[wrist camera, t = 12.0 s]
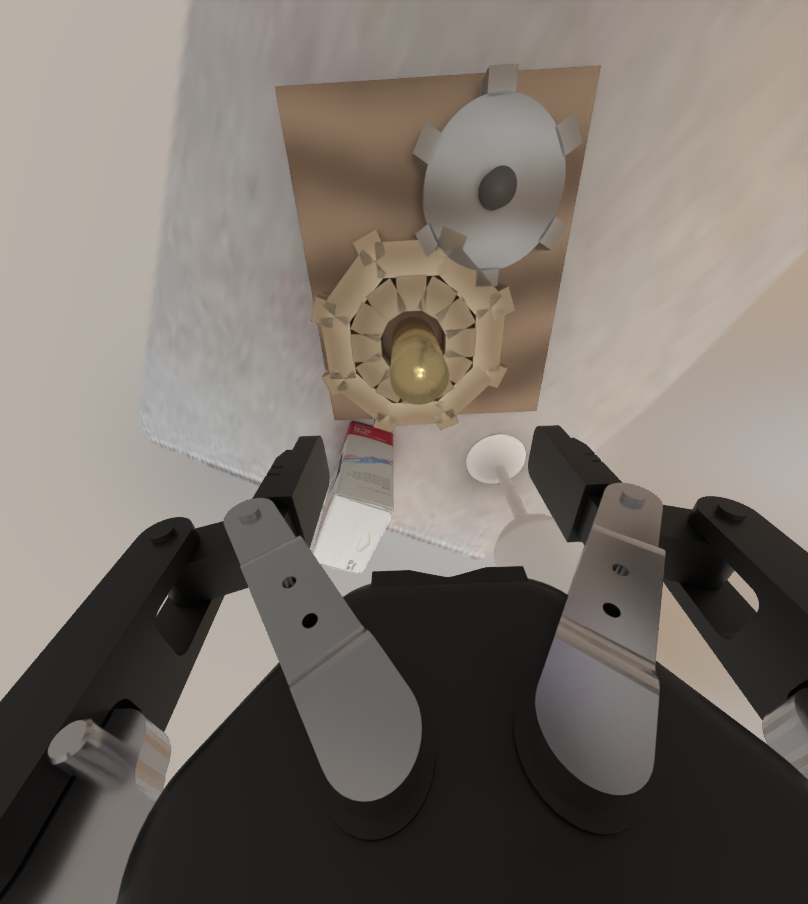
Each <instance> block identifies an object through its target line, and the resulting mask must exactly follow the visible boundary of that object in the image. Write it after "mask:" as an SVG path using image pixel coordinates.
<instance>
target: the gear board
mask: <svg viewBox="0 0 808 904" xmlns="http://www.w3.org/2000/svg"><path fill="white" fill-rule="evenodd" d="M600 68H601V66H587V67H571V68H556V69H540V70H525V71H518V64H508V65H493V66H489V68H488V70H487V72H486V73H478V74H463V75H448V76H432V77H417V78H401V79H386V80H370V81H355V82H340V83H324V84H309V85H293V86H278V87H275V89H276V95H277V101H278V106H279V112H280V117H281V123H282V128H283V134H284V140H285V145H286V151H287V156H288V162H289V167H290V173H291V179H292V184H293V190H294V195H295V201H296V207H297V212H298V218H299V223H300V229H301V234H302V240H303V246H304V251H305V257H306V262H307V268H308V273H309V279H310V285H311V290H312V296H313V301H314V308H313V313H312V319H311V321H313V322H315V323H317V324H318V329H319V335H320V340H321V346H322V352H323V357H324V363H325V368H326V372H325V373H324V375H323V377H322V379H323V381H324V382H325V384H326V385H327V387H328V389H329V391H330V396H331V402H332V407H333V413H334V418H335V420H351V419H372V418H374V426H373V427H376V428H379V429H382V430H385V431H388V432H392V431H393V428H394V425H415V424H438V426H439V429H440V430H442V429H445V428H447V427H450V426H452V425H455V424H457V423H458V420H457V417H456V415H458V414H479V413H501V412H522V411H536V410H537V405H538V399H539V394H540V389H541V383H542V378H543V372H544V367H545V362H546V356H547V351H548V346H549V340H550V335H551V330H552V324H553V319H554V314H555V308H556V303H557V298H558V292H559V287H560V282H561V276H562V271H563V266H564V260H565V255H566V250H567V244H568V239H569V234H570V228H571V223H572V218H573V212H574V207H575V201H576V196H577V191H578V185H579V180H580V175H581V169H582V164H583V159H584V153H585V148H586V143H587V137H588V132H589V127H590V121H591V116H592V111H593V105H594V100H595V95H596V89H597V84H598V79H599V73H600ZM409 317H419V318H422V319H424V320H426V321H427V322H428V323H429V324H430V325H431V327H432V329H433V331H434V334H435V336H436V339H437V341H438V344H439V346H440V349H441V351H442V354H443V356H444V358H445V361H446V363H447V366H448V370H449V381H448V384H447V387H446V389H445V391H444V392H443V393H442V394H441V396H440V397H438V398H437V399H436V400H434V401H432V402H430V403H427V404H422V405H415V404H410V403H407V402H405V401H403V400H402V399H400V398H399V397H398V396H397V395H396V393H395V392H394V390H393V389H392V386H391V383H390V367H391V355H392V343H393V334H394V331H395V328H396V327H397V325H398V324H399V323H400V322H401V321H402V320H404V319H406V318H409Z"/></svg>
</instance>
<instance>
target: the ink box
mask: <svg viewBox="0 0 808 904" xmlns="http://www.w3.org/2000/svg"><path fill="white" fill-rule="evenodd" d="M393 511H394V502H393V435H392V434H391V433H390V432H387V431H384V430H381V429H378V428H375V427H372V426H368V425H364V424H360V423H355V422H351V423H350V426H349V429H348V432H347V435H346V438H345V441H344V444H343V447H342V451H341V454H340V457H339V460H338V463H337V466H336V469H335V472H334V475H333V478H332V482H331V485H330V488H329V492H328V496H327V499H326V503H325V507H324V510H323V515H322V518H321V522H320V526H319V530H318V534H317V537H316V541H315V545H314V549H313V552H312V553H313V554H314V556H315V557H316V559H317V560H318V562H319V563H320V565H322V566H326V567H330V568H334V569H338V570H342V571H347V572H352V573H356V574H360V573H361V572H362V571H363V570H364V569H365V567H366V564H367V563H368V562H369V560H370V558H371V555H372V553H373V551H374V550H375V548H376V546H377V545H378V542H379V540H380V538H381V536H382V535H383V533H384V531H385V530H386V528H387V525H388V523H389V522H390V520H391V518H392V516H391V515H392V513H393Z"/></svg>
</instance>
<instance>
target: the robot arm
mask: <svg viewBox="0 0 808 904" xmlns="http://www.w3.org/2000/svg"><path fill="white" fill-rule="evenodd" d="M528 470H529V475H530V477H531V479H532V481H533V483H534V485H535V486H536V488H537V490H538V492H539V494H540V495H541V497H542V499H543V501H544V502H545V504H546V506H547V508H548V509H549V511H550V513H551V515H552V517H553V518H554V520H555V522H556V524H557V525H558V527H559V529H560V531H561V532H562V534H563V536H564V538H565V540H566V541H567V542H582V543H583V544H584V548H583V551H582V554H581V557H580V560H579V562H578V565H577V568H576V571H575V574H574V577H573V579H572V582H571V585H570V588H569V591H568V594H566V593H564V592H563V591H561V590H559V589H557V588H555V587H553V586H551V585H548V584H546V583H543V582H540V581H537V580H534V579H529V578H528V577H527V575H526V572H525V570H524V567H523V566H507V567H485V568H481V569H478V570H474V571H471V572H467V573H464V574H460V575H456V576H453V577H443V576H437V575H432V574H426V573H422V572H416V571H411V570H402V571H377V572H376V571H374V572H372V582H371V584H368V585H365V586H362V587H360V588H357V589H355V590H353V591H352V592H350V593H348V594H347V595H345V596H344V597H342V596H341V594H340V593H339V591H338V590H337V588H336V587H335V585H334V584H333V582H332V581H331V579H330V578H329V577H328V575H327V574H326V572H325V571H324V569H323V568H322V566H321V565H320V563H319V562H318V560H317V559H316V557H315V556H314V554H313V553H312V552H311V550H310V545H311V542H312V539H313V536H314V532H315V529H316V525H317V522H318V519H319V516H320V512H321V509H322V506H323V503H324V499H325V496H326V493H327V489H328V486H329V468H328V463H327V458H326V453H325V449H324V444H323V440H322V437H321V436H301V437H299V439H298V440H297V442H296V444H295V446H294V448H293V450H286V451H285V452H283V453H282V454H281V455H280V456H278V457H277V458H276V460H275V461H274V463H273V465H272V466H271V468H270V470H269V471H268V473H267V476H265V478H264V480H263V481H262V483H261V485H260V487H259V488H258V490H257V492H256V493H255V495H254V497H253V498H252V499H250V500H246V501H244V502H241V503H239V504H237V505H236V506H235V507H233V508H232V509H231V510H229V511H228V513H227V514H226V516H225V517H224V521H222V522H219V523H215V524H211V525H207V526H204V527H200V528H196V529H195V527H194V525H193V524H192V522H191V521H190V520H189V519H187V518H184V517H175V518H170V519H166V520H163V521H161V522H158V523H156V524H154V525H152V526H151V527H149V528H148V529H146V530H145V531H144V532H142V533H141V534H140V535H139V536H138V537H137V538H136V540H135V541H134V542H133V543H132V544H131V546H130V547H129V548H128V549H127V550H126V552H125V553H124V554H123V555H122V556H121V558H120V559H119V560H118V561H117V563H116V564H115V565H114V566H113V567H112V569H111V570H110V571H109V572H108V573H107V574H106V576H105V577H104V578H103V579H102V580H101V582H100V583H99V584H98V585H97V586H96V588H95V589H94V590H93V591H92V592H91V594H90V595H89V596H88V597H87V598H86V600H85V601H84V602H83V603H82V604H81V606H80V607H79V608H78V609H77V610H76V612H75V613H74V614H73V615H72V616H71V618H70V619H69V620H68V621H67V622H66V624H65V625H64V626H63V627H62V629H60V631H59V632H58V633H57V634H56V636H55V637H54V638H53V639H52V640H51V642H50V643H49V644H48V645H47V646H46V648H45V649H44V650H43V651H42V652H41V653H40V655H39V656H38V657H37V659H35V661H34V662H33V663H32V664H31V666H30V667H29V668H28V669H27V670H26V672H25V673H24V674H23V675H22V676H21V678H20V679H19V680H18V681H17V682H16V683H15V685H14V686H13V687H12V688H11V689H10V691H9V692H8V693H7V694H6V695H5V697H4V698H3V699H2V700H1V701H0V904H808V552H806V551H805V550H803V548H801V547H800V546H799V545H798V544H796V543H795V542H794V541H793V540H791V539H790V538H789V537H788V536H786V535H785V534H784V533H783V532H781V531H780V530H779V529H777V528H776V527H775V526H774V525H772V524H771V523H770V522H768V521H767V520H766V519H765V518H764V517H762V516H761V515H760V514H759V513H757V512H756V511H755V510H753V509H751V508H750V507H747V506H746V505H744V504H741V503H739V502H736V501H733V500H730V499H726V498H722V497H714V496H706V497H702V498H700V499H698V501H697V502H696V504H695V506H694V508H693V509H685V508H679V507H673V506H666V505H663V504H662V502H661V500H660V499H659V498H658V497H657V496H656V495H655V494H654V493H652V492H650V491H649V490H647V489H645V488H642V487H640V486H636V485H633V484H628V483H622V482H621V481H620V480H619V479H618V477H617V476H615V474H614V473H613V472H612V471H611V470H610V469H609V468H608V467H607V466H606V465H605V464H604V463H603V462H601V460H600V458H599V457H598V456H597V455H595V453H594V452H593V451H592V450H591V449H590V448H589V447H588V446H587V445H586V444H584V443H583V442H581V441H579V440H577V439H575V438H570V437H569V435H568V434H567V433H566V432H565V431H564V430H563V429H562V428H561V427H560V426H559V425H554V426H537V427H536V429H535V431H534V435H533V440H532V445H531V451H530V456H529V461H528ZM734 570H735V571H736V572H737V573H738V574H739V575H740V576H741V577H742V578H743V580H745V582H746V583H747V584H748V585H749V586H750V587H751V588H752V589H753V590H754V592H755V593H756V595H757V597H758V600H759V609H758V612H756V611H755V610H754V609H753V608H752V607H751V606H750V605H749V604H748V602H747V601H746V600H745V599H744V598H743V597H742V596H741V595H740V594H739V593H738V591H736V589H735V588H734V587H733V586H732V585H731V584H730V583H729V582H728V580H727V579H728V578H729V577H730V576H731V574H732V573H733V572H734ZM663 582H664V583H665V585H666V586H667V588H668V589H669V591H670V592H671V593H672V595H673V596H674V598H675V599H676V600H677V602H678V603H679V604H680V606H681V607H682V609H683V610H684V612H685V613H686V614H687V615H688V617H689V619H690V620H691V621H692V623H693V624H694V626H695V627H696V628H697V630H698V631H699V633H700V634H701V635H702V637H703V638H704V640H705V641H706V642H707V643H708V645H709V647H710V648H711V649H712V650H713V652H714V654H715V655H716V656H717V658H718V659H719V660H720V662H721V663H722V664H723V666H724V668H725V669H726V670H727V672H728V673H729V675H730V676H731V677H732V679H733V680H734V682H735V683H736V684H737V685H738V687H739V689H740V690H741V691H742V693H743V694H744V695H745V697H746V698H747V700H748V701H749V702H750V704H751V705H752V707H753V708H754V710H755V711H756V712H757V713H758V715H759V716H760V718H761V719H762V720H763V723H762V729H763V734H764V737H765V740H766V742H767V744H768V745H767V744H766V743H765V742H763V741H762V740H760V739H759V738H758V737H756V736H755V735H754V734H753V733H751V732H750V731H749V730H747V729H746V728H745V727H743V726H742V725H741V724H739V723H738V722H737V721H735V720H734V719H733V718H731V717H730V716H729V715H727V714H726V713H725V712H723V711H722V710H721V709H719V708H718V707H717V706H715V705H714V704H713V703H711V702H710V701H709V700H707V699H706V698H705V697H704V696H702V695H701V694H700V693H698V692H697V691H696V690H694V689H693V688H692V687H690V686H689V685H688V684H686V683H685V682H684V681H682V680H681V679H679V678H678V677H677V676H675V675H674V674H673V673H672V672H670V671H669V670H668V669H666V668H665V667H664V666H662V665H661V664H660V663H658V662H657V661H656V652H657V641H658V630H659V619H660V609H661V608H660V607H661V598H662V587H663ZM245 588H249V589H250V592H251V594H252V597H253V599H254V601H255V604H256V606H257V609H258V611H259V614H260V616H261V619H262V621H263V623H264V626H265V628H266V631H267V633H268V636H269V638H270V641H271V643H272V645H273V648H274V650H275V653H276V655H277V657H278V660H279V663H278V664H277V665H276V666H275V667H274V668H273V669H272V670H271V672H270V673H269V674H268V675H267V676H266V677H265V678H264V679H263V680H262V681H261V682H260V683H259V685H257V686H256V688H255V689H254V690H253V691H252V692H251V693H250V694H249V695H248V696H247V697H246V698H245V699H244V700H243V702H242V703H241V704H240V705H239V706H238V707H237V708H236V709H235V710H234V711H233V712H232V713H231V714H230V715H229V717H227V719H226V720H225V721H224V722H223V723H222V724H221V725H220V726H219V727H218V728H217V729H216V730H215V732H213V734H212V735H211V736H210V737H209V738H208V739H207V740H206V741H205V742H204V743H203V744H202V745H201V746H200V747H199V749H198V750H197V751H196V752H195V753H194V754H193V755H192V756H191V757H190V758H189V759H188V760H187V761H186V762H185V764H184V765H183V766H182V767H181V768H180V769H179V770H178V772H177V773H176V774H175V775H174V776H173V778H172V779H171V780H170V782H169V783H168V784H167V786H166V787H165V789H164V788H163V787H164V783H165V775H166V772H167V768H168V765H169V761H170V756H171V744H170V740H169V738H168V736H167V735H166V734H165V733H164V731H165V729H166V727H167V724H168V722H169V720H170V718H171V715H172V713H173V711H174V709H175V706H176V704H177V702H178V700H179V697H180V695H181V693H182V690H183V688H184V686H185V684H186V681H187V679H188V677H189V675H190V672H191V670H192V667H193V666H194V663H195V661H196V659H197V657H198V654H199V652H200V650H201V648H202V645H203V643H204V640H205V638H206V636H207V634H208V632H209V629H210V627H211V625H212V622H213V620H214V618H215V616H216V613H217V611H218V609H219V607H220V605H221V602H222V600H223V598H224V596H225V595H226V594H229V593H233V592H236V591H239V590H242V589H245ZM167 595H168V596H169V597H168V598H167V600H166V602H165V603H164V605H163V607H162V608H161V610H160V612H159V613H158V615H157V612H158V610H159V608H160V606H161V605H162V603H163V601H164V600H165V598H166V597H167ZM156 615H157V616H156ZM163 789H164V790H163Z"/></svg>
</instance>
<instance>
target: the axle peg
mask: <svg viewBox="0 0 808 904" xmlns="http://www.w3.org/2000/svg"><path fill="white" fill-rule="evenodd" d="M448 381H449V370H448V366H447V363H446V361H445V358H444V356H443V354H442V351H441V349H440V346H439V344H438V341H437V339H436V336H435V334H434V331H433V329H432V327H431V325H430V324H429V323H428V322H427V321H426V320H424V319H422V318H419V317H409V318H406V319H404V320H402V321H401V322H400V323H399V324H398V325H397V327H396V328H395V331H394V334H393V343H392V355H391V367H390V383H391V386H392V389H393V390H394V392H395V393H396V395H397V396H398V397H399V398H400V399H402V400H403V401H405V402H407V403H410V404H415V405H422V404H427V403H430V402H432V401H434V400H436V399H437V398H438V397H440V396H441V394H442V393H443V392H444V391H445V389H446V387H447V384H448Z"/></svg>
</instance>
